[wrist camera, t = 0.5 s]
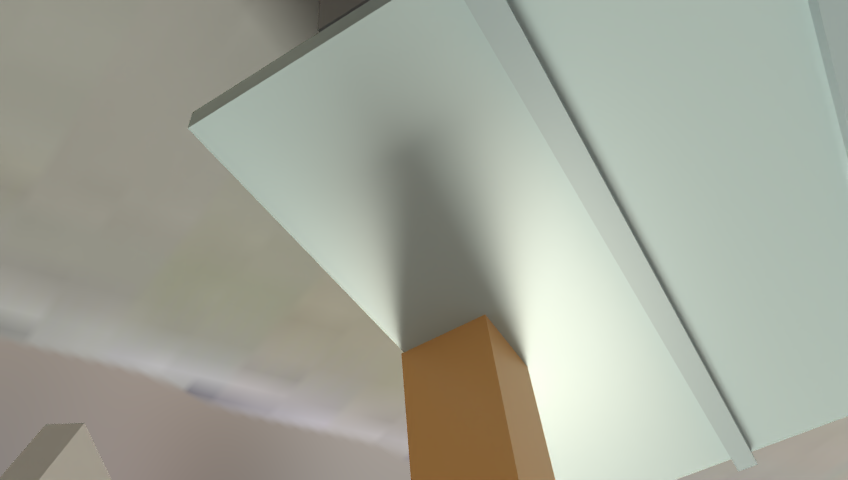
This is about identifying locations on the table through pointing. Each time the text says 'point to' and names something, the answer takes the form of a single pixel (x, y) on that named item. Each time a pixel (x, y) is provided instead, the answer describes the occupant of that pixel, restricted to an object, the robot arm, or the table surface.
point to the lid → (573, 220)
